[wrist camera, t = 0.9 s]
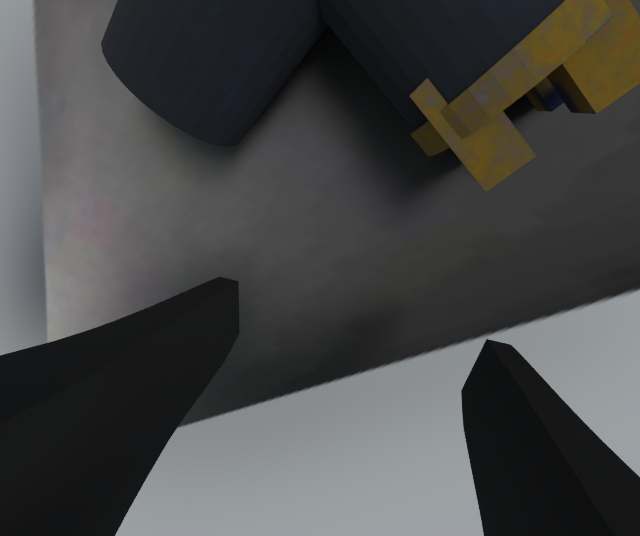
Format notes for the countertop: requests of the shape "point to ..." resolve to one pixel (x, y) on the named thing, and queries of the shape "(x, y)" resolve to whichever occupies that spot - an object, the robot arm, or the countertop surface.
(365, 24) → the pipe connector
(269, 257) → the countertop surface
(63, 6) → the countertop surface
